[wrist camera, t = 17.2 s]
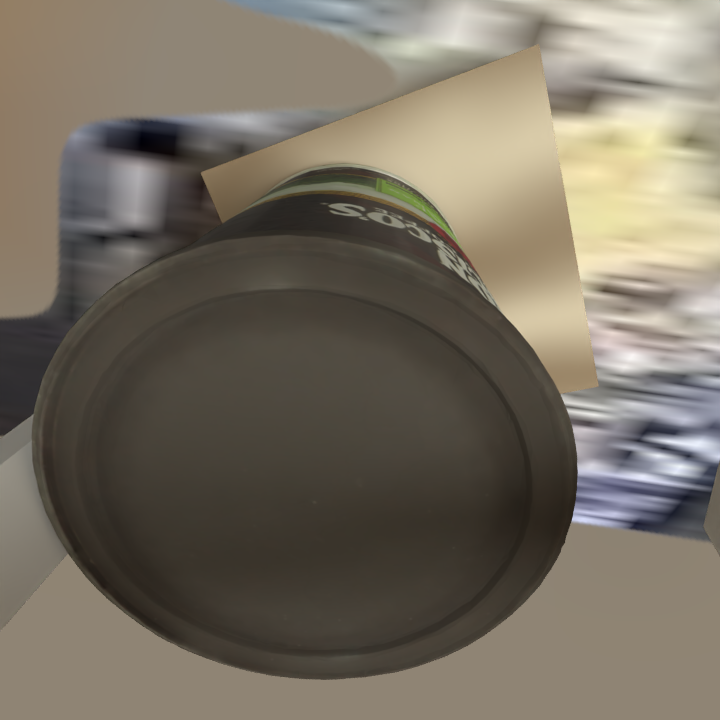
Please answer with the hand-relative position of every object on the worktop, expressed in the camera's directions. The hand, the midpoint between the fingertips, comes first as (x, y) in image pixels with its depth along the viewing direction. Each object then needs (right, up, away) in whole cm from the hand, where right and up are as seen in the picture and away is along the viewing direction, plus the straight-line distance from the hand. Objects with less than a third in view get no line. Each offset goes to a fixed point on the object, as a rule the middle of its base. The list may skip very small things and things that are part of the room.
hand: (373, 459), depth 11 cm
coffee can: (-1, +5, +12) cm, 13 cm away
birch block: (+3, +8, +17) cm, 19 cm away
